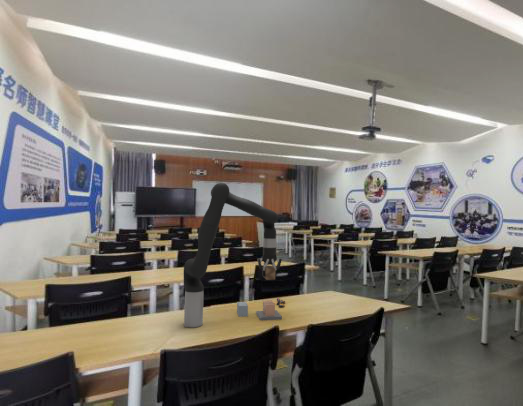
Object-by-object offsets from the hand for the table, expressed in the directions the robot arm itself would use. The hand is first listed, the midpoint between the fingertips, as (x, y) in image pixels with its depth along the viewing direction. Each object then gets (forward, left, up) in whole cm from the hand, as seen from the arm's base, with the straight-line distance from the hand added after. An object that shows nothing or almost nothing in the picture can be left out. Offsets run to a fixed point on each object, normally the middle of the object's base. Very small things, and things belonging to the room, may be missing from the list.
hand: (269, 276), depth 185 cm
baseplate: (0, 0, -22) cm, 22 cm away
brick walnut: (0, 0, -1) cm, 1 cm away
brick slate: (-14, +6, -22) cm, 27 cm away
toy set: (+11, +21, -23) cm, 33 cm away
